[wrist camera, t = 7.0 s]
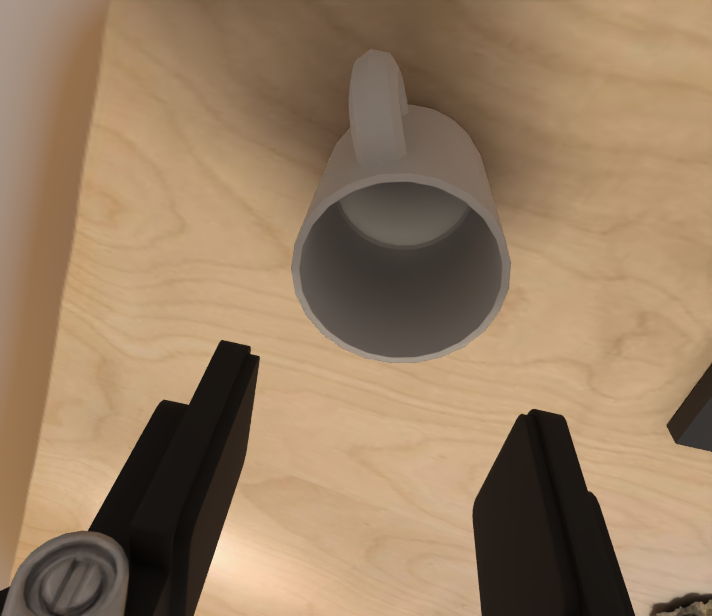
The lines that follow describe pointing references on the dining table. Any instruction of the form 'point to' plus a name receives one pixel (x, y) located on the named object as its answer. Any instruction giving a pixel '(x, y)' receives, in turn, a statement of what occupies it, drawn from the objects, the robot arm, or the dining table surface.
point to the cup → (400, 230)
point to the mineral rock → (691, 610)
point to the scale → (695, 417)
